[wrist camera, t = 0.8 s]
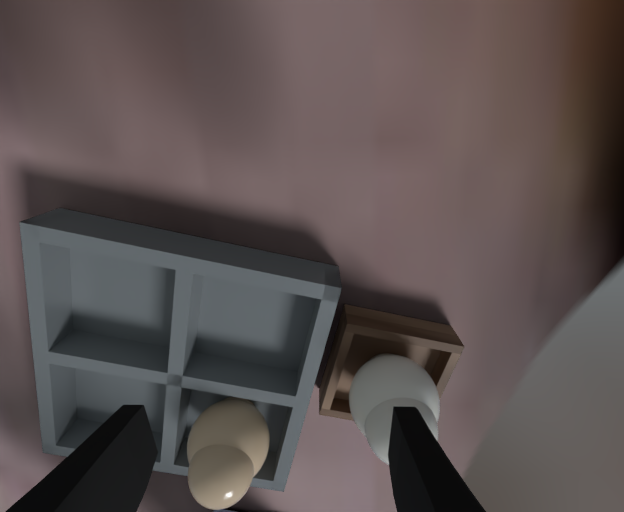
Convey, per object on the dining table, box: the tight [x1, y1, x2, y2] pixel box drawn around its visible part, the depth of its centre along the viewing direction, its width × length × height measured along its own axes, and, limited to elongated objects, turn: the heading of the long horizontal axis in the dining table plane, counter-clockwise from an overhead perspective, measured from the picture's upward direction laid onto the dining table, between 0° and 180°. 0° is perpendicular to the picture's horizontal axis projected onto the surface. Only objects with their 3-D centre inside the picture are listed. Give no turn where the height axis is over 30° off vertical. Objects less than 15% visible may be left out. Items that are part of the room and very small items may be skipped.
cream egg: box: [349, 353, 440, 465], centre depth 17 cm, size 5×5×6 cm
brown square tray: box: [319, 304, 464, 421], centre depth 20 cm, size 6×6×2 cm
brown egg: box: [187, 396, 270, 510], centre depth 19 cm, size 5×5×6 cm
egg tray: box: [20, 208, 342, 492], centre depth 20 cm, size 15×15×3 cm
